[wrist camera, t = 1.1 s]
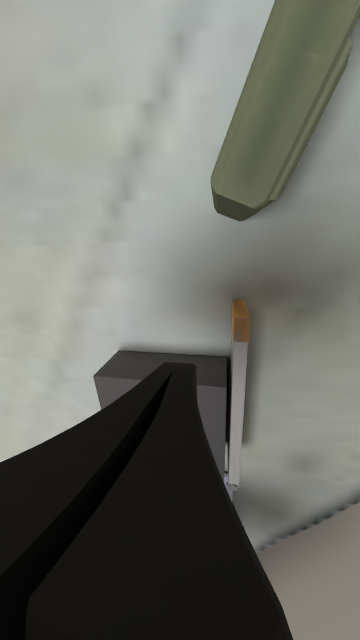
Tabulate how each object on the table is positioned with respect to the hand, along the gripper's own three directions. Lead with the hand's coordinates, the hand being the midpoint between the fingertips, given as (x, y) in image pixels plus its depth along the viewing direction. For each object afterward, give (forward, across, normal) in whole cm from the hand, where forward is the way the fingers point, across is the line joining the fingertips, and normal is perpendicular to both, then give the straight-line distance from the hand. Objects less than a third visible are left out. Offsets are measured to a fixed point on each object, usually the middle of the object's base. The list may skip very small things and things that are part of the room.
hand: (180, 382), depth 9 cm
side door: (+8, -3, +6) cm, 11 cm away
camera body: (+8, +3, +8) cm, 12 cm away
